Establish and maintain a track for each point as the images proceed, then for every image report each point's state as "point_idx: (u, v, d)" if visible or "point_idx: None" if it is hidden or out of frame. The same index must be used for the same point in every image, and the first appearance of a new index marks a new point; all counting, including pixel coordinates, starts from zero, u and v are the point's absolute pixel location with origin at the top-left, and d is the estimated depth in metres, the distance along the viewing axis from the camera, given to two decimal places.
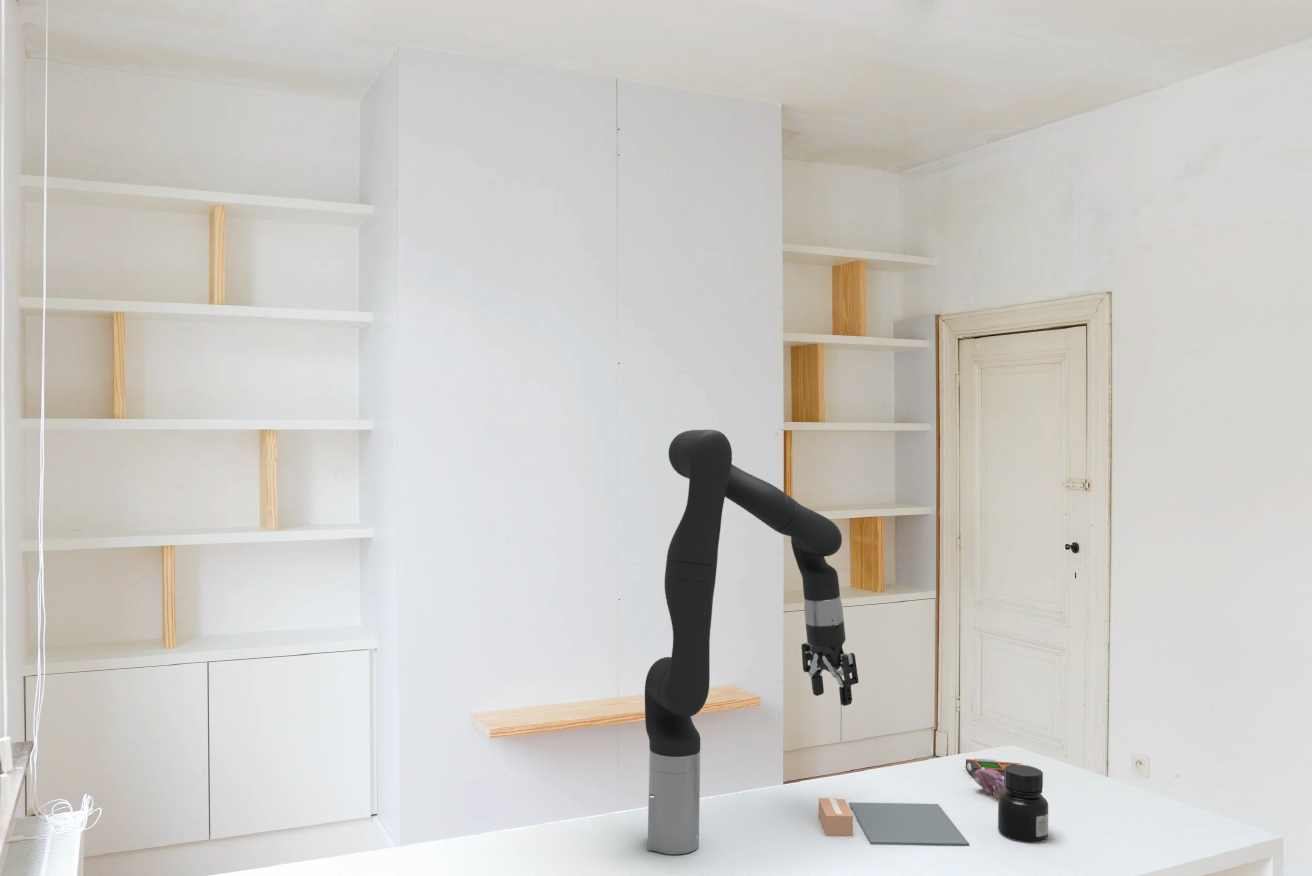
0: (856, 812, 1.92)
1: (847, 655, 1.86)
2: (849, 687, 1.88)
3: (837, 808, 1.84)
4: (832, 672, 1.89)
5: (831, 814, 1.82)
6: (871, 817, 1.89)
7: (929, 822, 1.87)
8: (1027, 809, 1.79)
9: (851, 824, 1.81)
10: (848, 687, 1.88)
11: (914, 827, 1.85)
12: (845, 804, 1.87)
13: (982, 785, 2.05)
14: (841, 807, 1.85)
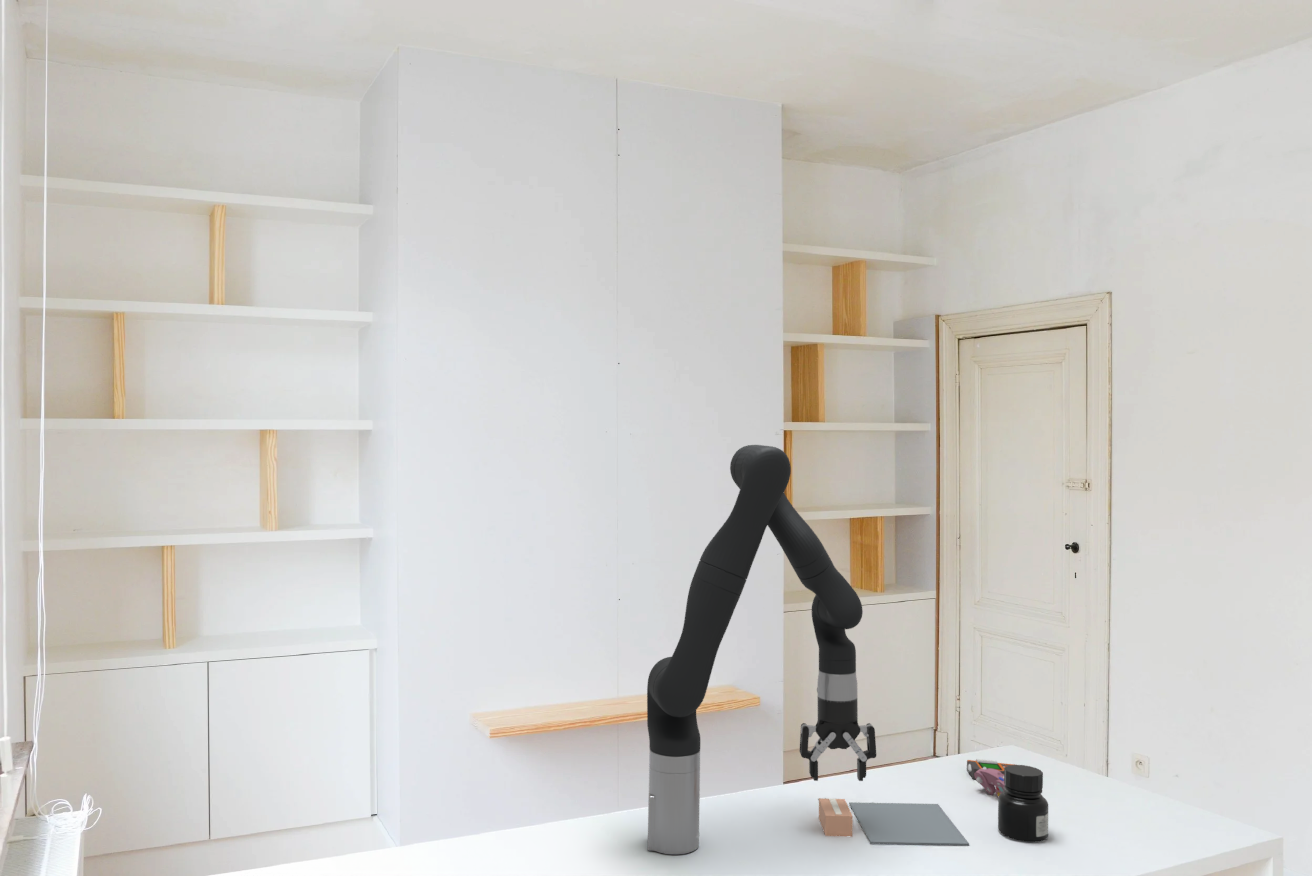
0: (856, 812, 1.92)
1: (872, 726, 1.85)
2: None
3: (837, 808, 1.84)
4: (855, 747, 1.84)
5: (830, 814, 1.82)
6: (871, 817, 1.89)
7: (929, 822, 1.87)
8: (1027, 809, 1.79)
9: (851, 824, 1.81)
10: None
11: (914, 827, 1.85)
12: (845, 804, 1.87)
13: (983, 785, 2.05)
14: (841, 807, 1.85)
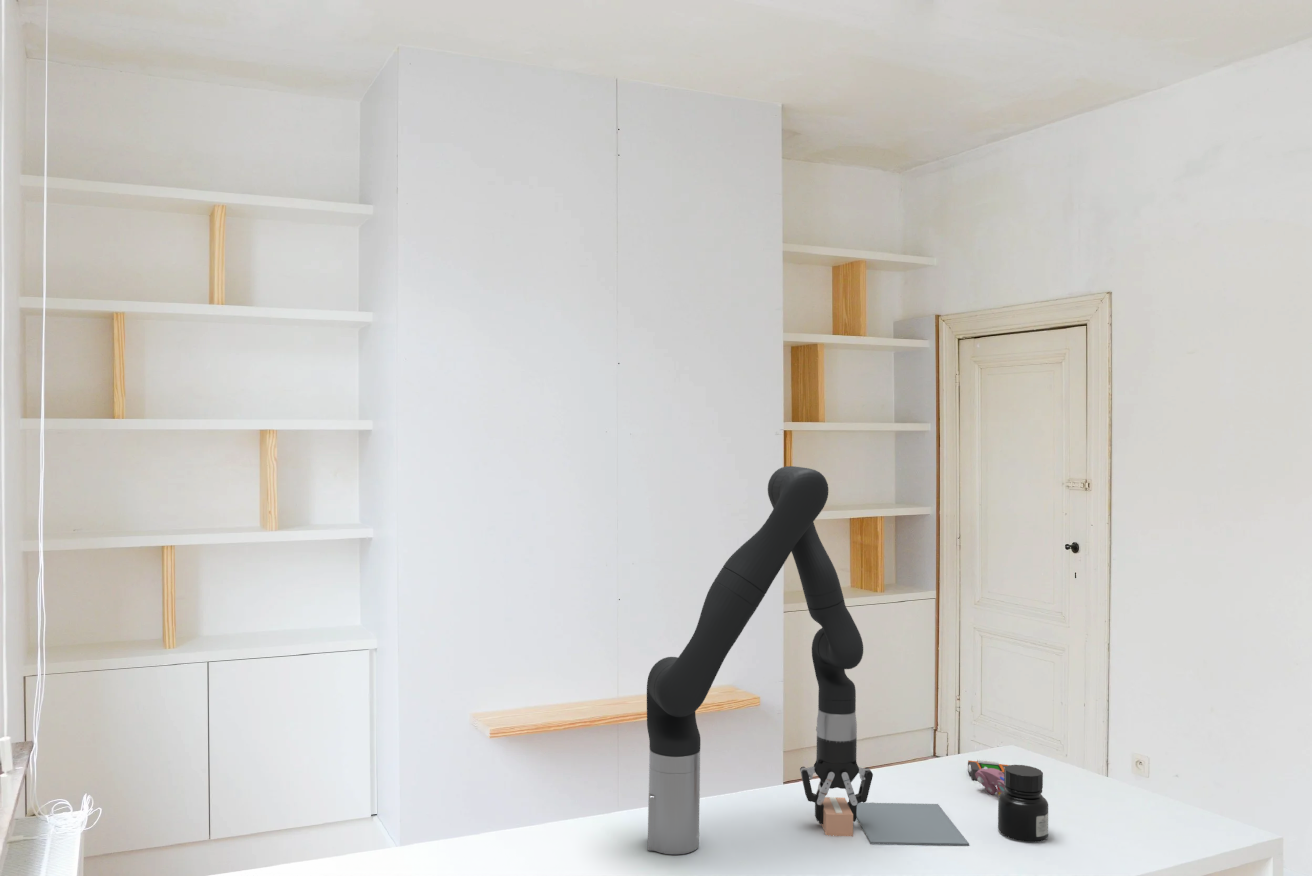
0: None
1: None
2: None
3: (837, 807, 1.84)
4: (849, 790, 1.84)
5: (831, 812, 1.82)
6: (871, 817, 1.89)
7: (929, 822, 1.87)
8: (1027, 809, 1.79)
9: (851, 823, 1.81)
10: None
11: (914, 827, 1.85)
12: (846, 803, 1.87)
13: (984, 784, 2.05)
14: (841, 806, 1.85)
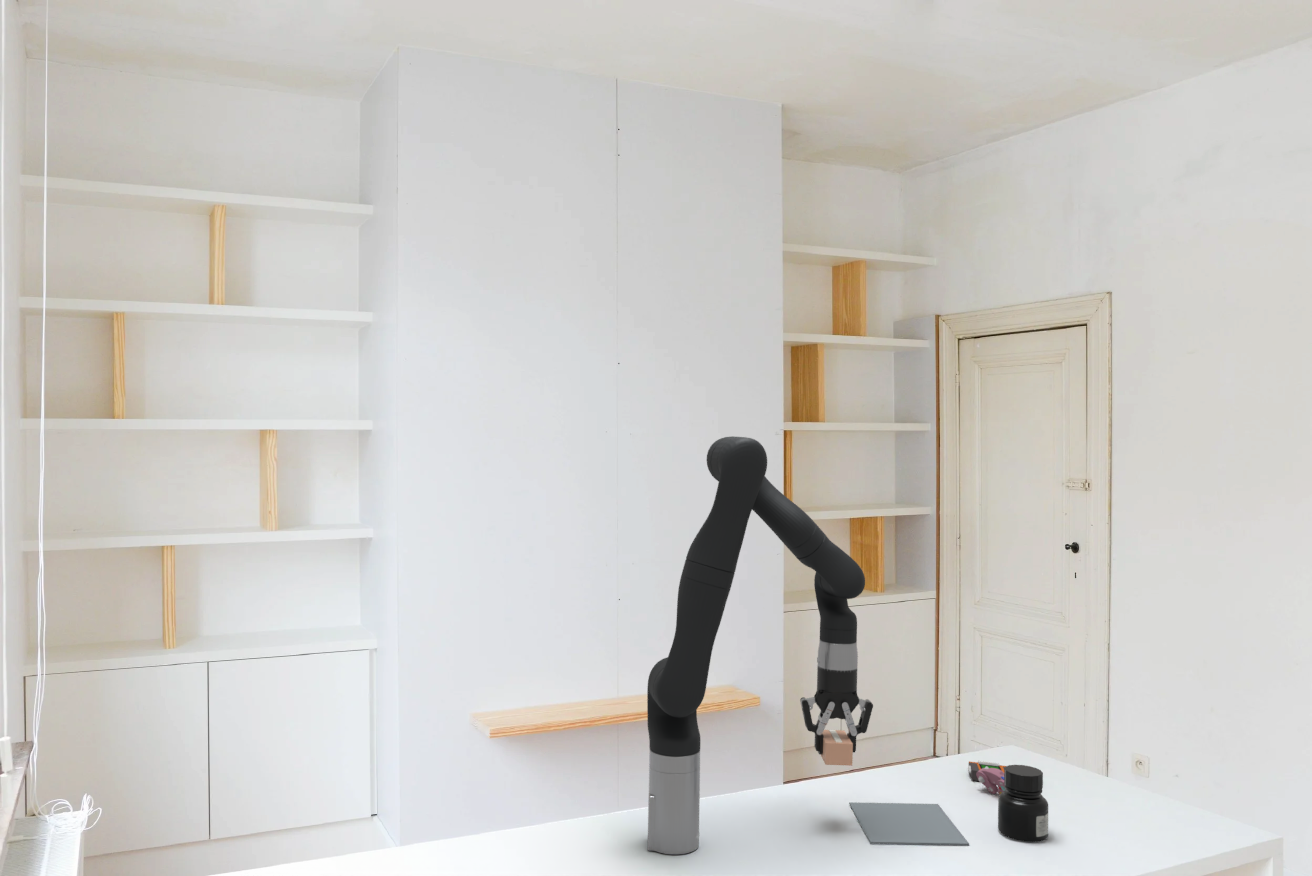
0: (856, 812, 1.92)
1: None
2: None
3: (837, 737, 1.84)
4: (849, 720, 1.84)
5: (831, 742, 1.82)
6: (871, 817, 1.89)
7: (929, 822, 1.87)
8: (1027, 809, 1.79)
9: (851, 752, 1.81)
10: None
11: (914, 827, 1.85)
12: (845, 735, 1.87)
13: (985, 784, 2.05)
14: (841, 736, 1.85)
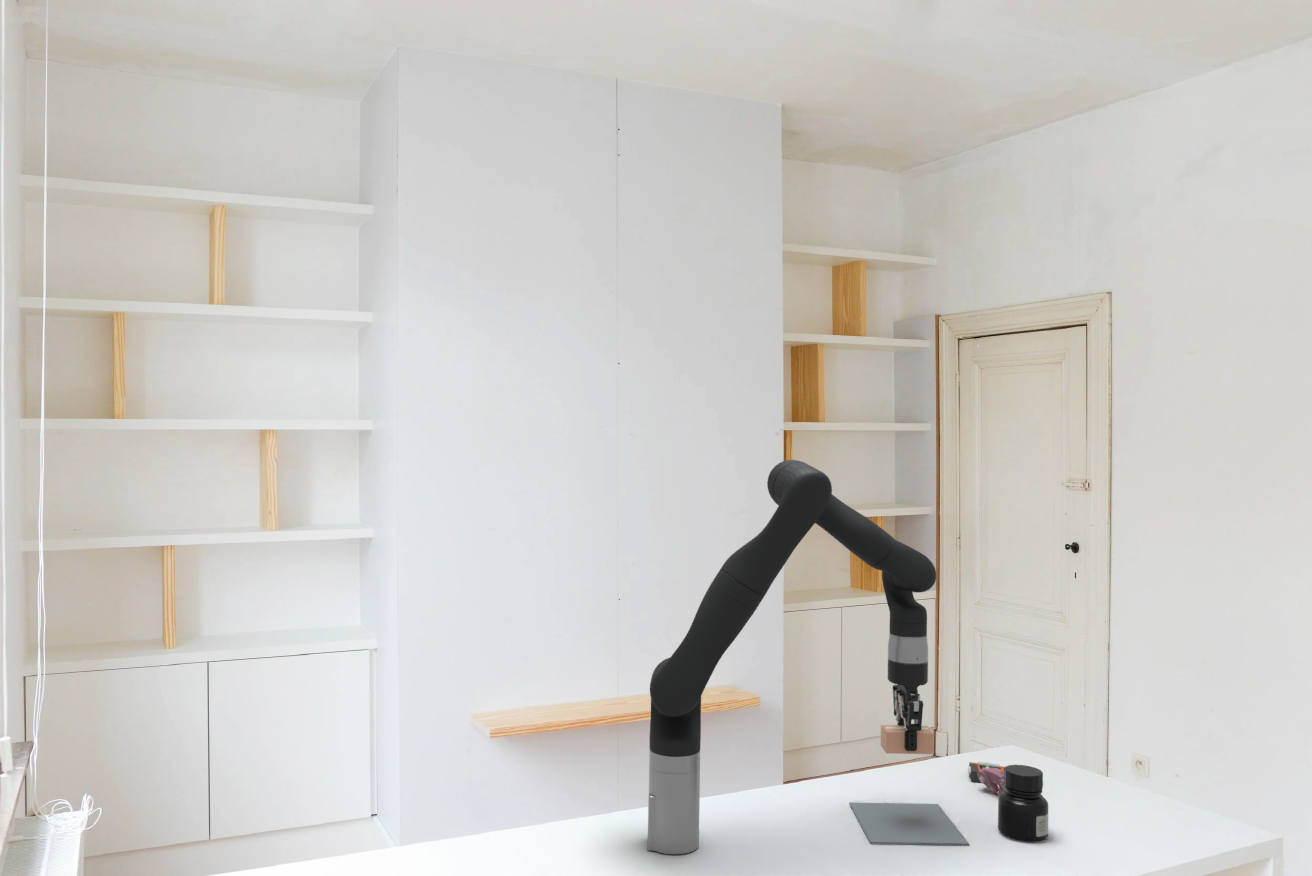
0: (856, 812, 1.92)
1: None
2: None
3: None
4: None
5: (928, 731, 1.86)
6: (871, 817, 1.89)
7: (929, 822, 1.87)
8: (1027, 809, 1.79)
9: None
10: None
11: (914, 827, 1.85)
12: (897, 725, 1.90)
13: (986, 784, 2.06)
14: None
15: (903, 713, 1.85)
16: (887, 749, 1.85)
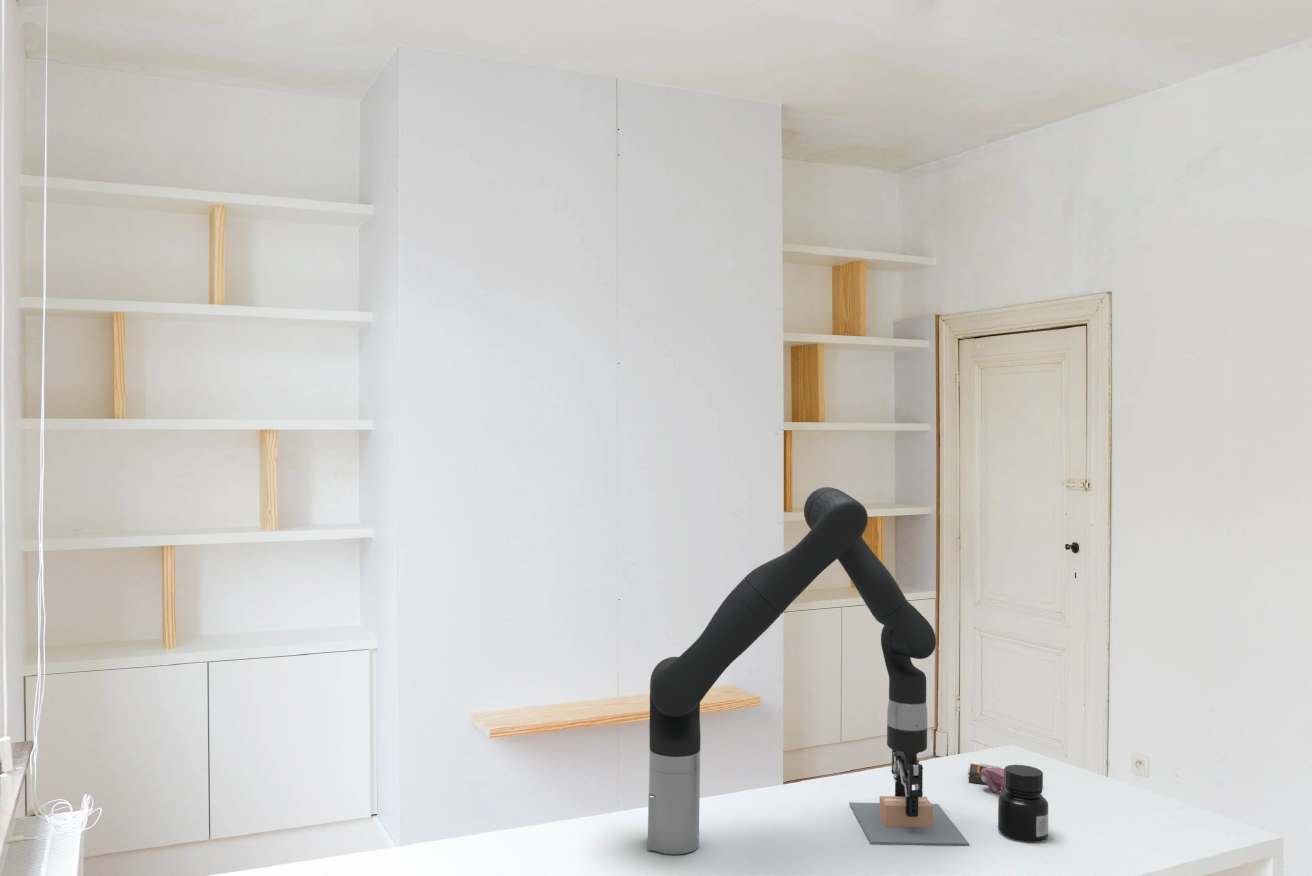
0: (856, 812, 1.92)
1: None
2: None
3: None
4: None
5: (927, 803, 1.86)
6: (871, 817, 1.89)
7: None
8: (1027, 809, 1.79)
9: None
10: None
11: (914, 827, 1.85)
12: (896, 796, 1.89)
13: (988, 783, 2.06)
14: (904, 798, 1.88)
15: (903, 778, 1.84)
16: (886, 822, 1.85)
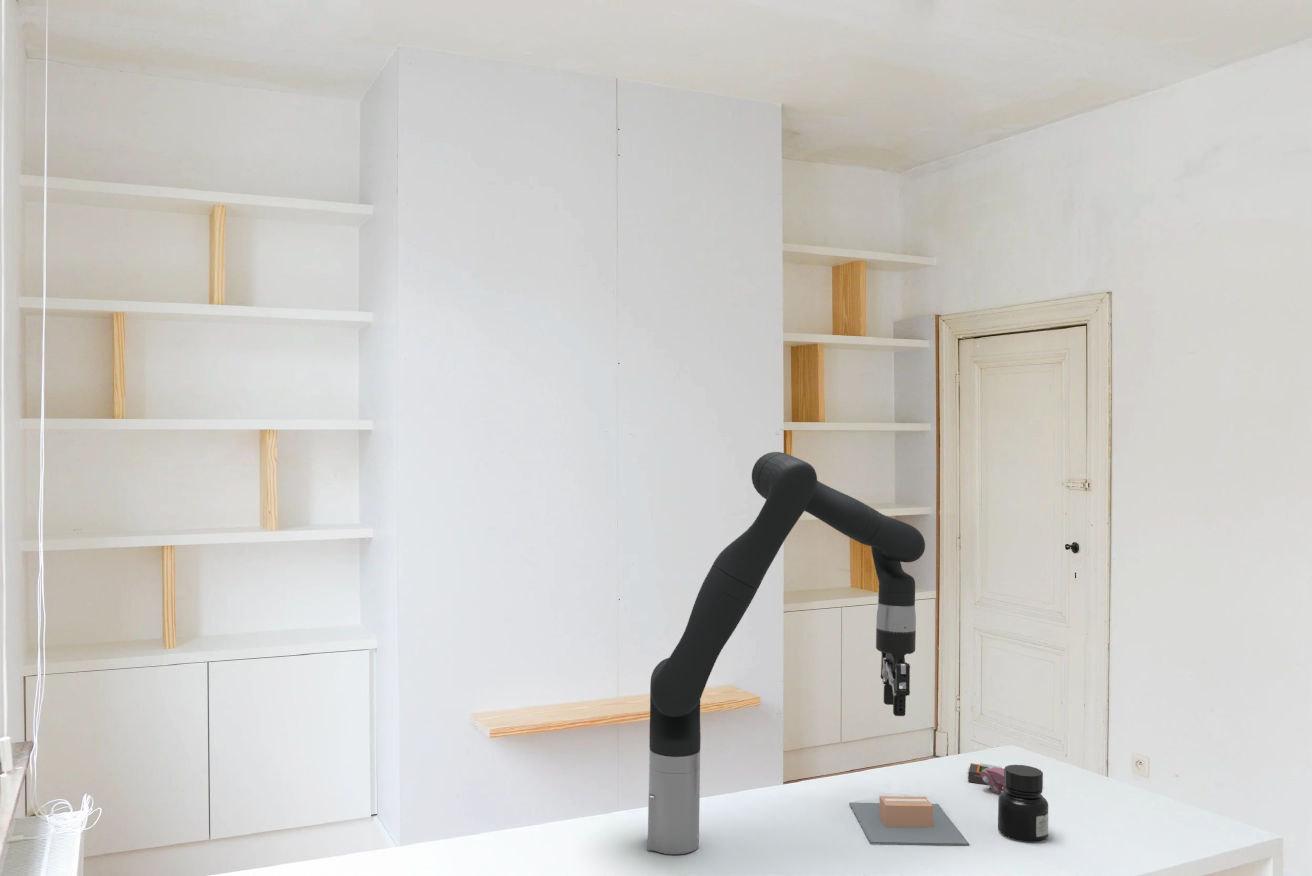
0: (856, 812, 1.92)
1: None
2: None
3: (912, 799, 1.87)
4: None
5: (927, 803, 1.86)
6: (871, 817, 1.89)
7: None
8: (1027, 809, 1.79)
9: None
10: None
11: (914, 827, 1.85)
12: (896, 796, 1.89)
13: (990, 784, 2.06)
14: (904, 798, 1.88)
15: (891, 679, 1.87)
16: (886, 822, 1.85)
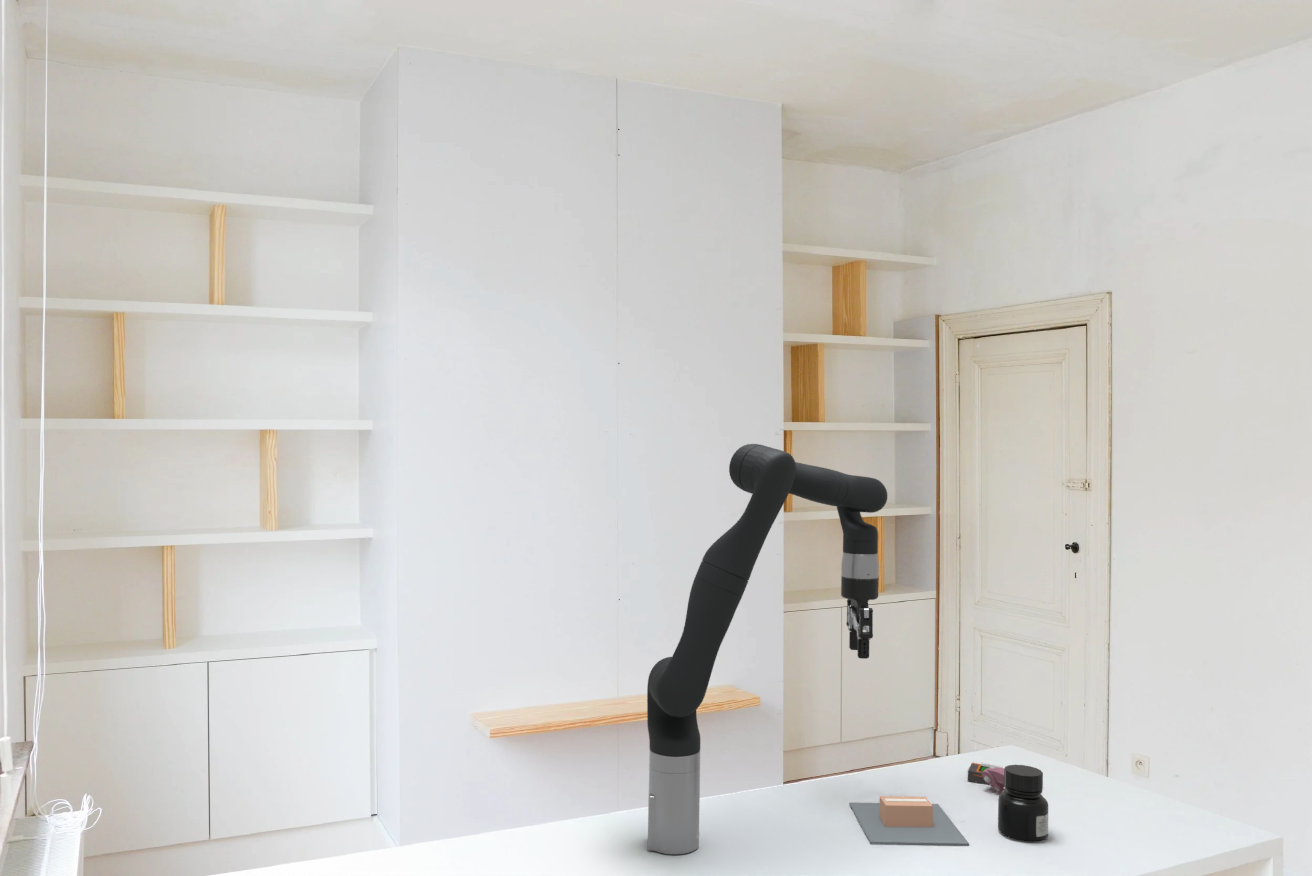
0: (856, 812, 1.92)
1: None
2: None
3: (912, 799, 1.87)
4: None
5: (927, 803, 1.86)
6: (871, 817, 1.89)
7: None
8: (1027, 809, 1.79)
9: None
10: None
11: (914, 827, 1.85)
12: (896, 796, 1.89)
13: (991, 784, 2.06)
14: (904, 798, 1.88)
15: (855, 623, 1.96)
16: (886, 822, 1.85)
